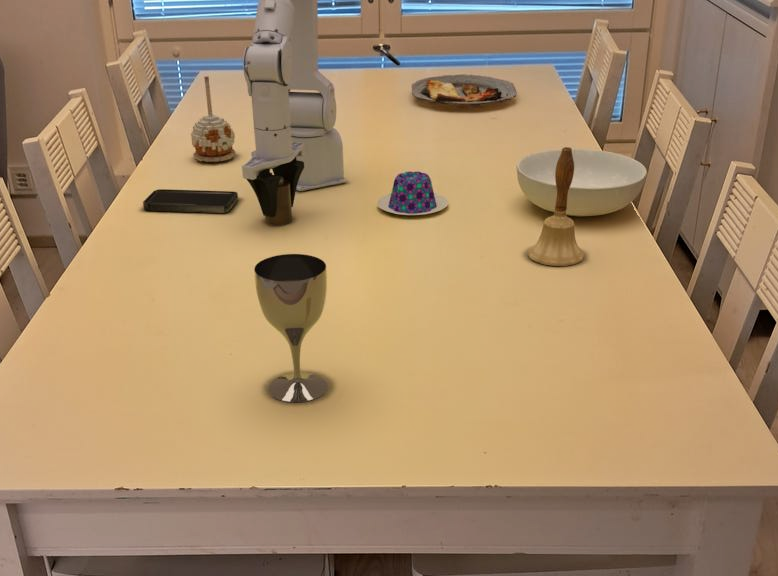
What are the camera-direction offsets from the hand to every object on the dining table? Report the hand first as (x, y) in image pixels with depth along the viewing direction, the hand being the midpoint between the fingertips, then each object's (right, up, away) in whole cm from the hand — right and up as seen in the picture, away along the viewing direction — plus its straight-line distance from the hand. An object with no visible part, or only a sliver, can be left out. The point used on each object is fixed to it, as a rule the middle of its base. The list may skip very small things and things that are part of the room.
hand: (278, 211), depth 167 cm
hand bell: (+43, -11, -14) cm, 46 cm away
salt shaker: (0, -1, +1) cm, 2 cm away
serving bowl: (+50, +1, +3) cm, 50 cm away
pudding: (+22, +2, +5) cm, 23 cm away
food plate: (+36, +43, +64) cm, 85 cm away
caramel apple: (-15, +18, +30) cm, 38 cm away
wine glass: (+6, -34, -46) cm, 57 cm away
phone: (-16, +3, +8) cm, 18 cm away
